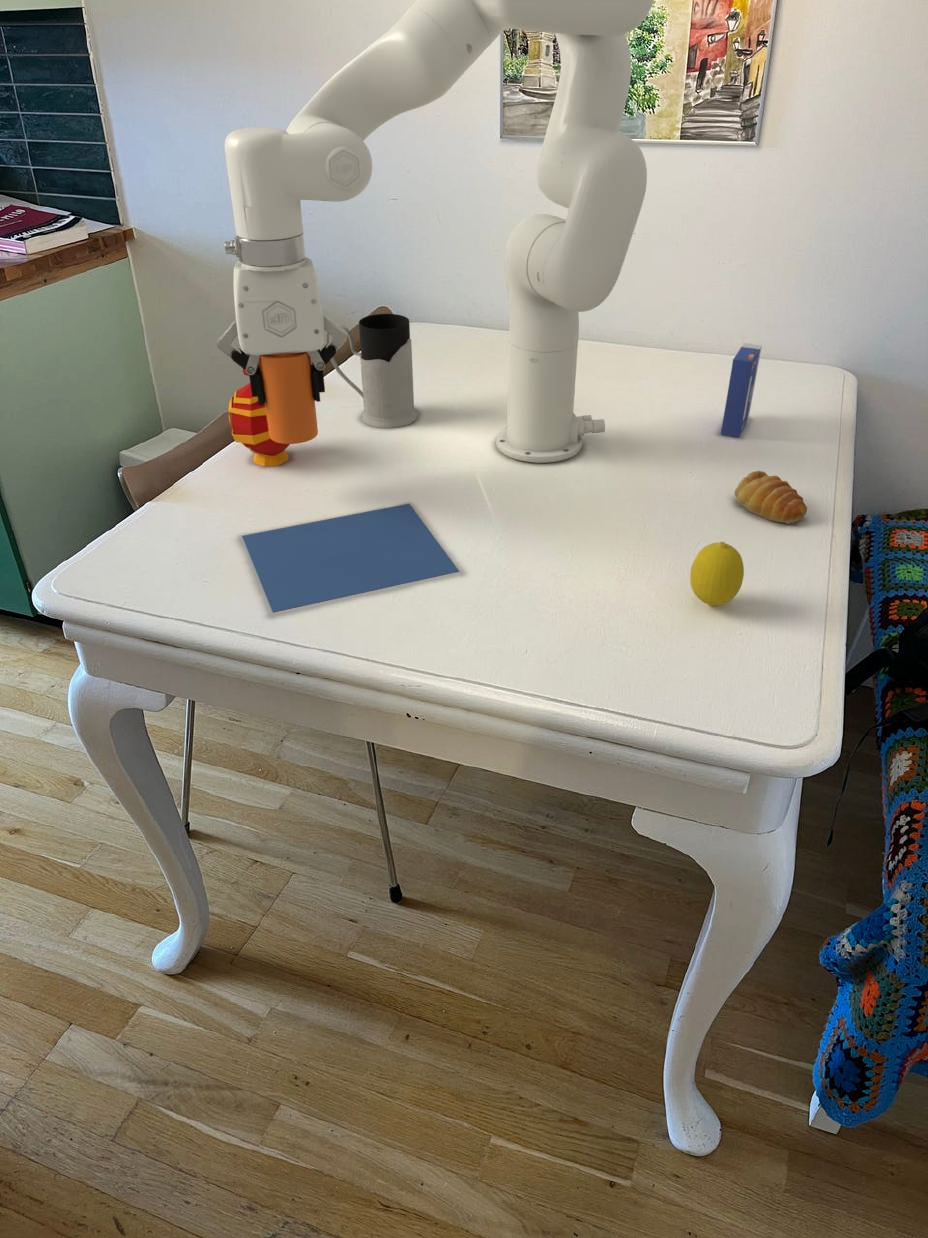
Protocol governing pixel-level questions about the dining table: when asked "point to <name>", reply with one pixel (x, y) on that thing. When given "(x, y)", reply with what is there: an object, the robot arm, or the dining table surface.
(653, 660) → the dining table surface
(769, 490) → the pastry
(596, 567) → the dining table surface
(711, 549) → the lemon
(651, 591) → the dining table surface
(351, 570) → the cloth
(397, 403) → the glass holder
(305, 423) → the bottle
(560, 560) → the dining table surface
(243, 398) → the potion bottle
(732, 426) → the walkman
